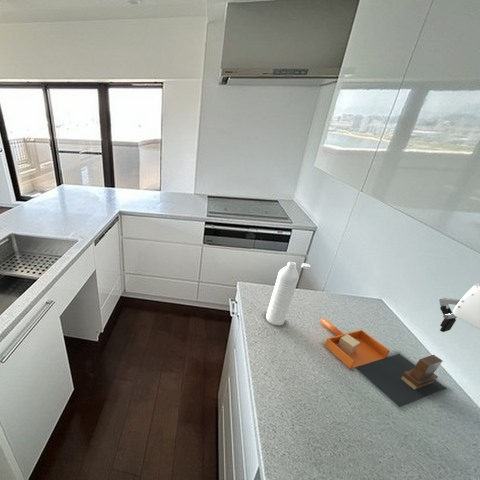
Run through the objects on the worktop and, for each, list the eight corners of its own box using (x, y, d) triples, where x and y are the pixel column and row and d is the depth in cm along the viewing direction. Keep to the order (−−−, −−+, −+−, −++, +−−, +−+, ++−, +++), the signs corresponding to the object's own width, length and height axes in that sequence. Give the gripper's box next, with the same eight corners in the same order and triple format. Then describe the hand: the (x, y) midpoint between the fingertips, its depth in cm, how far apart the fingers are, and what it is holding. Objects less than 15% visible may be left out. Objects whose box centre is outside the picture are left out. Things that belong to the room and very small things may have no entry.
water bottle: (266, 323, 94) (283, 265, 84) (265, 312, 100) (280, 256, 90) (291, 329, 92) (312, 270, 82) (288, 317, 98) (308, 261, 88)
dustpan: (385, 358, 83) (390, 350, 81) (350, 369, 78) (354, 361, 77) (335, 319, 98) (338, 312, 97) (303, 326, 94) (305, 319, 93)
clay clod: (343, 342, 87) (347, 334, 86) (355, 351, 84) (360, 342, 82) (336, 346, 86) (340, 337, 84) (349, 355, 82) (353, 346, 81)
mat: (398, 354, 84) (399, 353, 84) (446, 388, 74) (446, 388, 74) (354, 367, 79) (354, 367, 79) (399, 407, 68) (399, 406, 68)
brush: (418, 371, 78) (432, 351, 74) (433, 383, 75) (449, 362, 71) (399, 378, 76) (413, 357, 72) (414, 390, 72) (429, 369, 69)
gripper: (576, 309, 53) (526, 367, 60) (465, 268, 68) (436, 318, 75) (557, 316, 51) (508, 375, 58) (447, 273, 66) (419, 323, 73)
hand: (467, 343), depth 67 cm, fingers open, 9 cm apart
